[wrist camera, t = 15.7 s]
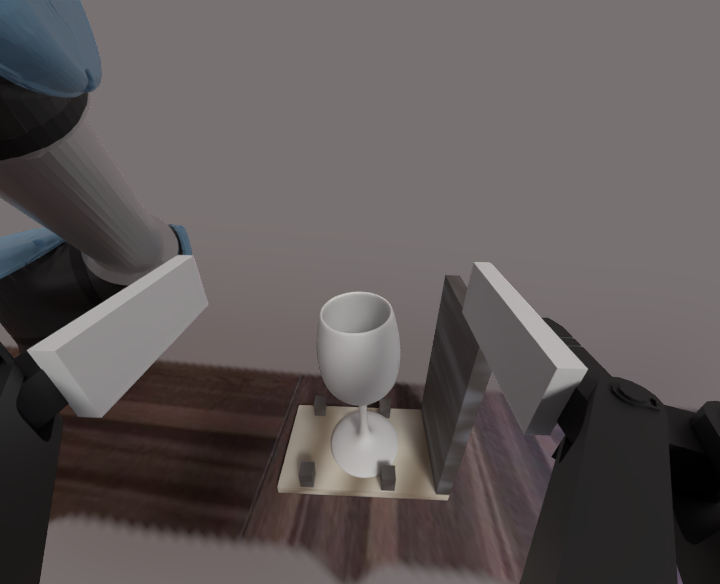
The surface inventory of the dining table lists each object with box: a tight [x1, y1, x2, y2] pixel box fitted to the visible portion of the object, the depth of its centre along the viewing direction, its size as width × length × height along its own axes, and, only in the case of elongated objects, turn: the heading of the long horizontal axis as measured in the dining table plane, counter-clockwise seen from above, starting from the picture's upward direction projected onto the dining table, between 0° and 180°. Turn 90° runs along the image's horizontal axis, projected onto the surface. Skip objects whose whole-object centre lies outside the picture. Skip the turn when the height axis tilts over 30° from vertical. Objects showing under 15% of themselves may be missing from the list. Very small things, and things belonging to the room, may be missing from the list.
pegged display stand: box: [277, 275, 492, 500], centre depth 31 cm, size 20×11×23 cm, turn 88°
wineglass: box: [317, 292, 400, 478], centre depth 30 cm, size 9×9×21 cm
